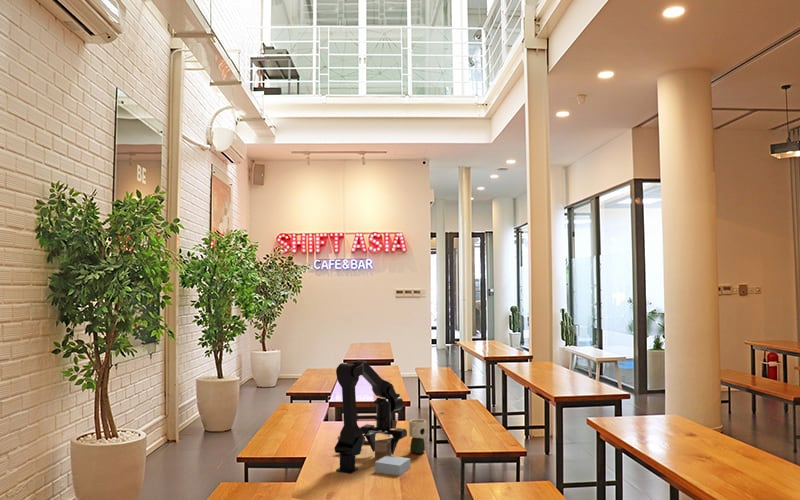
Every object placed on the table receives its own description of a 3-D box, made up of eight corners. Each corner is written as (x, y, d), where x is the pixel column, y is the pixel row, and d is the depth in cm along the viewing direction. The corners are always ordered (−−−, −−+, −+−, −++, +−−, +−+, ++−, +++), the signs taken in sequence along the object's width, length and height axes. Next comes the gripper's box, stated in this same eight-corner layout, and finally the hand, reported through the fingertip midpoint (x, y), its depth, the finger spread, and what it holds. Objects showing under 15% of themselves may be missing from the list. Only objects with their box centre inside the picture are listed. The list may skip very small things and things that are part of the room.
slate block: (399, 476, 226) (399, 465, 227) (375, 472, 230) (375, 462, 231) (410, 469, 236) (410, 458, 236) (386, 465, 240) (386, 455, 240)
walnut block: (385, 459, 247) (386, 444, 247) (374, 457, 249) (374, 442, 249) (391, 456, 252) (391, 441, 252) (380, 454, 254) (380, 439, 254)
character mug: (420, 457, 251) (420, 424, 251) (404, 454, 254) (404, 422, 254) (430, 450, 260) (430, 419, 261) (415, 448, 263) (415, 417, 264)
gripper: (412, 412, 255) (412, 451, 254) (372, 408, 262) (371, 445, 262) (401, 417, 244) (400, 457, 244) (359, 413, 252) (359, 451, 252)
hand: (383, 452), depth 250 cm, fingers open, 8 cm apart
